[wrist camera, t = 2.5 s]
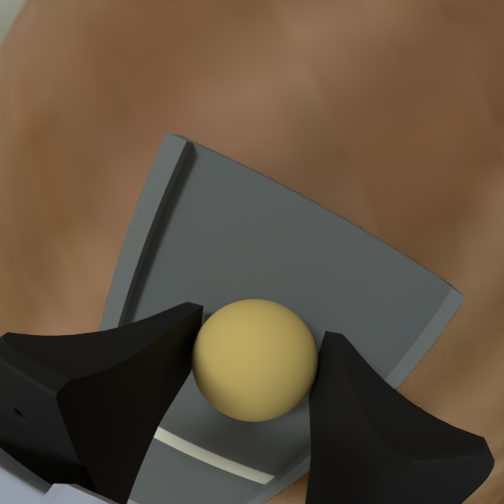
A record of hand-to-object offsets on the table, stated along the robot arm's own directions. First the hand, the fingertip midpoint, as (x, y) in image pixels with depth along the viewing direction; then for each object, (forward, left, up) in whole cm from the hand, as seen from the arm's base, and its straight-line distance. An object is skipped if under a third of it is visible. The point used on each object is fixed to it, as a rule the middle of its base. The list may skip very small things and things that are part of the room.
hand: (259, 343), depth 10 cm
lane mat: (0, +9, -2) cm, 9 cm away
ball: (0, 0, +1) cm, 1 cm away
